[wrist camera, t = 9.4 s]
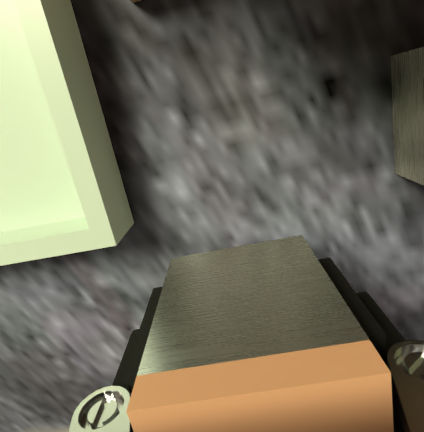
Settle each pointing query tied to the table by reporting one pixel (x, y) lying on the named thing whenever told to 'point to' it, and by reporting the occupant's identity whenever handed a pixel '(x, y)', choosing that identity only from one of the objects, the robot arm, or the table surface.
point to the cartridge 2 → (408, 113)
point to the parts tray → (53, 140)
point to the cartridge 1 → (258, 349)
